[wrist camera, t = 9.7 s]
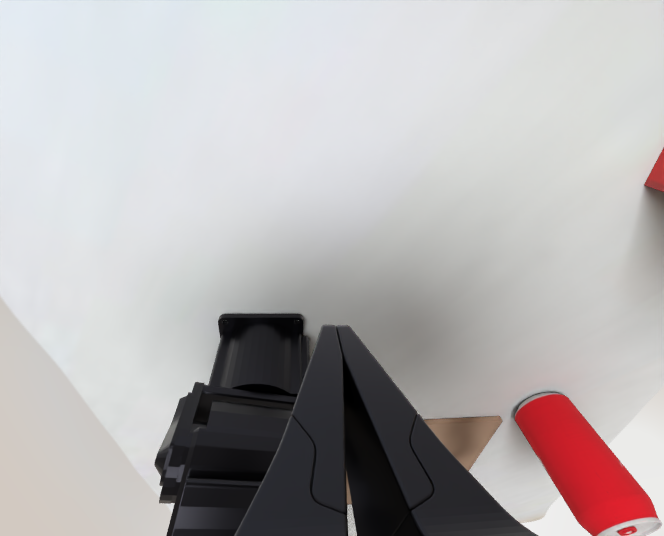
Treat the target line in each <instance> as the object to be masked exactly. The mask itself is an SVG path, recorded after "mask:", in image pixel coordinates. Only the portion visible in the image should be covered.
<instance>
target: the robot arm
mask: <svg viewBox="0 0 664 536" xmlns="http://www.w3.org/2000/svg"><path fill="white" fill-rule="evenodd" d="M223 320H227V321H223ZM295 320H299V321H295ZM218 325H219V332H220V338H221V340H220V344H219V347H218V351H217V355H216V359H215V362H214V366H213V370H212V374H211V377H210V381H209V385H204V383H199V382H195V385H194V388H193V391H192V393H188V395H187V396H186V397H183V398H181V399H180V400H179V403H178V406H177V409H176V412H175V415H174V418H173V421H172V423H171V426H170V428H169V430H168V432H167V434H166V436H165V439H164V441H163V443H162V445H161V447H160V449H159V451H158V454H157V457H156V460H155V464H154V465H155V467H156V469H157V470H158V472H159V474H160V475H161V480H160V486H163V487H162V491H161V495H160V500H159V503H175V505H174V509H173V513H172V516H171V520H170V524H169V528H168V532H167V536H348V521H347V484H346V472H347V477H348V483H349V489H350V495H351V501H352V507H353V513H354V519H355V525H356V531H357V536H538V535H536V534H535V533H533V532H531V531H530V530H529V529H527V528H526V527H524V526H523V525H522V524H520V523H519V522H518V521H517V520H515V519H514V518H513V517H512V516H511V515H510V514H509V513H508V512H507V511H506V510H505V509H504V508H503V507H502V506H501V505H500V504H499V503H498V502H497V501H496V500H495V499H494V498H493V497H492V496H491V495H490V494H489V493H488V492H487V491H486V490H485V489H484V487H483V486H482V485H481V484H480V483H479V482H478V481H477V480H476V479H475V478H474V477H473V476H472V475H471V474H470V473H469V472H468V470H467V469H466V468H465V467H464V466H463V465H462V464H461V463H460V462H459V461H458V460H457V459H456V458H455V457H454V455H453V454H452V453H451V452H450V451H449V450H448V449H447V448H446V447H445V445H444V444H443V443H442V442H441V441H440V440H439V438H438V437H437V436H436V435H435V434H434V432H433V431H432V430H431V429H430V428H429V426H428V425H427V424H426V423H425V421H424V420H423V419H422V417H421V416H420V415H419V414H417V411H416V410H415V409H414V407H413V406H412V405H411V404H410V402H409V401H408V400H407V399H406V397H405V396H404V395H403V393H402V392H401V391H400V390H399V388H398V387H397V386H396V385H395V383H394V382H393V381H392V379H391V378H390V377H389V376H388V374H387V373H386V372H385V371H384V369H383V368H382V367H381V365H380V364H379V363H378V362H377V360H376V359H375V358H374V357H373V355H372V354H371V353H370V351H369V350H368V349H367V348H366V346H365V345H364V344H363V343H362V341H361V340H360V339H359V337H358V336H357V335H356V334H355V332H354V331H353V330H352V328H351V327H350V326H347V325H337V326H335V325H323V326H322V328H321V331H320V334H319V336H318V339H317V342H316V345H315V348H314V351H313V353H312V356H311V359H310V356H309V338H308V337H307V336H303V316H302V315H300V314H223V315H221V316H220V317H219V320H218Z"/></svg>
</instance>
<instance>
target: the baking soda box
mask: <svg viewBox="0 0 664 536" xmlns="http://www.w3.org/2000/svg"><path fill="white" fill-rule="evenodd" d="M644 185H645V186H648V187H651V188H654V189H657V190H659V191H662V192H664V148H663V150H662V152H661V154H660V156H659V158H658V160H657V161H656V163H655V165H654V167H653V169H652V171H651V173H650V175H649V177H648V179H647V180H646V182H645V184H644Z"/></svg>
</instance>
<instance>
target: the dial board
mask: <svg viewBox="0 0 664 536" xmlns="http://www.w3.org/2000/svg"><path fill="white" fill-rule="evenodd" d="M424 421H425V423H426V424H427V425H428V426H429V428H430V429H431V430H432V431H433V432H434V434H435V435H436V436H437V437H438V438H439V440H440V441H441V442H442V443H443V444H444V445H445V447H446V448H447V449H448V450H449V451H450V452H451V453H452V454H453V455H454V457H455V458H456V459H457V460H458V461H459V462H460V463H461V464H462V465H463V466H464V467H465V468H466V469H467V470H468V471H469V470H470V468H471V467H472V465H473V464H474V462H475V461H476V459H477V458H478V456H479V455H480V453H481V452H482V450H483V449H484V447H485V446H486V445H487V443H488V442H489V440H490V439H491V437H492V436H493V434H494V433H495V431H496V430H497V428H498V427H499V425H500V424H501V423H502V419H501V418H500V416H493V417H472V418H451V419H430V420H424ZM346 484H347V504H352V501H351V495H350V489H349V483H348V477H347V472H346Z"/></svg>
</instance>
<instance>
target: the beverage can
mask: <svg viewBox="0 0 664 536" xmlns="http://www.w3.org/2000/svg"><path fill="white" fill-rule="evenodd" d="M515 421H516V423H517V424H518V426H519V428H520V429H521V431H522V432H523V434H524V436H525V437H526V439H527V441H528V442H529V444H530V445H531V447H532V449H533V450H534V452H535V453H536V455H537V457H538V458H539V460H540V461H541V463H542V465H543V466H544V468H545V470H546V471H547V473H548V474H549V476H550V478H551V479H552V481H553V482H554V484H555V486H556V487H557V489H558V491H559V492H560V494H561V495H562V497H563V498H564V500H565V502H566V503H567V505H568V506H569V508H570V510H571V512H572V513H573V515H574V516H575V518H576V520H577V521H578V522H579V524H580V525H581V526H582V527H583V528H584V529H586V530H587V531H588V532H589V533H590V534H591V535H592V536H646V535H648V534H651V533H653V532H654V531H656V530H658V529H659V528H660V527H661V526H662V523H661V521H660V520H659V519H658V517H657V515H656V511H655V508H654V505H653V503H652V501H651V499H650V497H649V496H648V495H647V494H646V492H645V491H644V490H643V489H642V488H641V486H640V485H639V484H638V483H637V481H636V480H635V479H634V478H633V477H632V475H631V474H630V473H629V472H628V470H627V469H626V468H625V467H624V466H623V464H622V463H621V462H620V461H619V459H618V458H617V457H616V456H615V455H614V453H613V452H612V451H611V450H610V448H609V447H608V446H607V445H606V444H605V442H604V441H603V440H602V439H601V437H600V436H599V435H598V434H597V433H596V431H595V430H594V429H593V428H592V426H591V425H590V424H589V423H588V422H587V420H586V419H585V418H584V417H583V416H582V414H581V413H580V412H579V411H578V409H577V408H576V407H575V406H574V405H573V403H572V402H571V401H570V400H569V398H568V397H566V396H565V395H562V394H557V393H541V394H537V395H534V396H532V397H530V398H528V399H526V400H525V401H524V402H523V403H522V404H521V405H520V406H519V407H518V410H517V412H516V414H515Z"/></svg>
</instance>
